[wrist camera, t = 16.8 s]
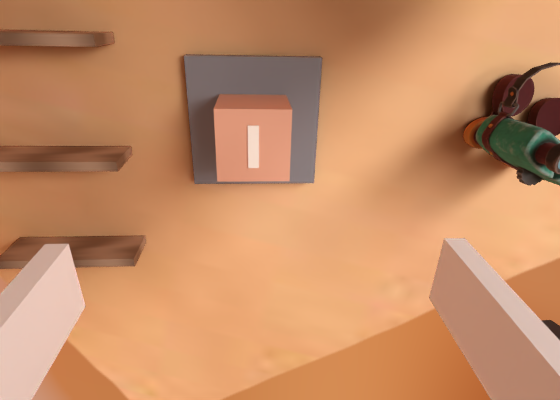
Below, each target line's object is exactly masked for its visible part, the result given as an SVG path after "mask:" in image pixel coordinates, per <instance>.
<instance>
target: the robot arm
mask: <svg viewBox="0 0 560 400" xmlns="http://www.w3.org/2000/svg"><path fill="white" fill-rule="evenodd" d="M429 299H430V300H431V302H432V304H433V305H434V307H435V309H436V310H437V312H438V313H439V315H440V317H441V318H442V320H443V322H444V323H445V325H446V326H447V328H448V330H449V331H450V333H451V335H452V336H453V338H454V340H455V341H456V343H457V345H458V346H459V348H460V349H461V351H462V353H463V354H464V356H465V358H466V359H467V361H468V362H469V364H470V366H471V367H472V369H473V371H474V372H475V374H476V376H477V377H478V379H479V380H480V382H481V384H482V385H483V387H484V389H485V390H486V392H487V394H488V395H489V397H490V399H491V400H560V326H559V325H557V324H556V323H555V322H553V321H551V320H543V321H541V320H540V319H539V318H538V316H537V315H536V314H535V313H534V312H533V311H532V310H531V309H530V308H529V307H528V306H527V305H526V304H525V303H524V302H523V300H522V299H521V298H520V297H519V296H518V295H517V294H516V293H515V292H514V291H513V290H512V289H511V287H510V286H509V285H508V284H507V283H506V282H505V281H504V280H503V279H502V278H501V277H500V276H499V275H498V273H497V272H496V271H495V270H494V269H493V268H492V267H491V266H490V265H489V264H488V263H487V262H486V261H485V260H484V258H483V257H482V256H481V255H480V254H479V253H478V252H477V251H476V250H475V249H474V248H473V247H472V246H471V244H470V243H469V242H468V241H467V240H466V239H465V238H444V241H443V245H442V249H441V253H440V257H439V261H438V265H437V269H436V273H435V277H434V281H433V284H432V288H431V292H430V296H429ZM84 308H85V303H84V299H83V295H82V292H81V288H80V284H79V280H78V277H77V273H76V269H75V266H74V262H73V258H72V254H71V251H70V247H69V244H45V245H44V246H43V247H42V248H41V249H40V250H39V251H38V253H37V254H36V255H35V256H34V257H33V258H32V259H31V260H30V261H29V262H28V264H27V265H26V266H25V267H24V268H23V269H22V270H21V271H20V272H19V274H18V275H17V276H16V277H15V278H14V279H13V280H12V281H11V282H10V283H9V285H8V286H7V287H6V288H5V289H4V290H3V291H2V292H1V294H0V400H32V398H33V397H34V395H35V393H36V391H37V390H38V388H39V386H40V384H41V382H42V381H43V379H44V377H45V376H46V374H47V372H48V370H49V369H50V367H51V365H52V364H53V362H54V360H55V358H56V357H57V355H58V353H59V351H60V350H61V348H62V346H63V344H64V343H65V341H66V339H67V338H68V336H69V334H70V332H71V331H72V329H73V327H74V325H75V324H76V322H77V320H78V318H79V317H80V315H81V313H82V311H83V310H84Z"/></svg>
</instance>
